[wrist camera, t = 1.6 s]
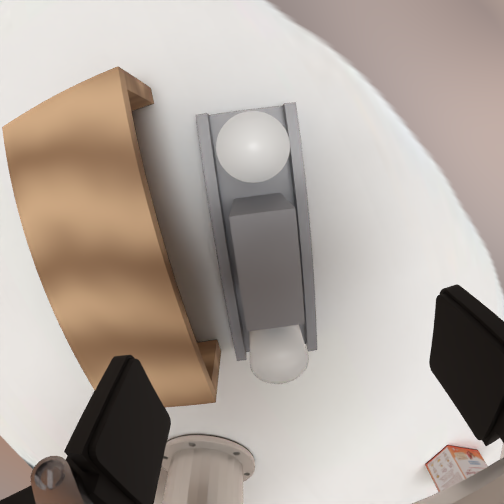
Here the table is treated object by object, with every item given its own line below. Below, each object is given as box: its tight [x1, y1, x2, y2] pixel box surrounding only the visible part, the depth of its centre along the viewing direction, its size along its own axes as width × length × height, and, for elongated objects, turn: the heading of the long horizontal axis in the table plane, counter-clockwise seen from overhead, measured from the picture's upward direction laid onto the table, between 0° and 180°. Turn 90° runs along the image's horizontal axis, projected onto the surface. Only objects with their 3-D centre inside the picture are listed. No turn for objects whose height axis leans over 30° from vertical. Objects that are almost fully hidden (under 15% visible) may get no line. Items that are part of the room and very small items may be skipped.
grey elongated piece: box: [196, 102, 317, 384], centre depth 21 cm, size 20×7×8 cm, turn 8°
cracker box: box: [426, 445, 488, 492], centre depth 28 cm, size 14×6×21 cm, turn 59°
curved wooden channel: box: [2, 67, 221, 407], centre depth 22 cm, size 24×10×7 cm, turn 12°
